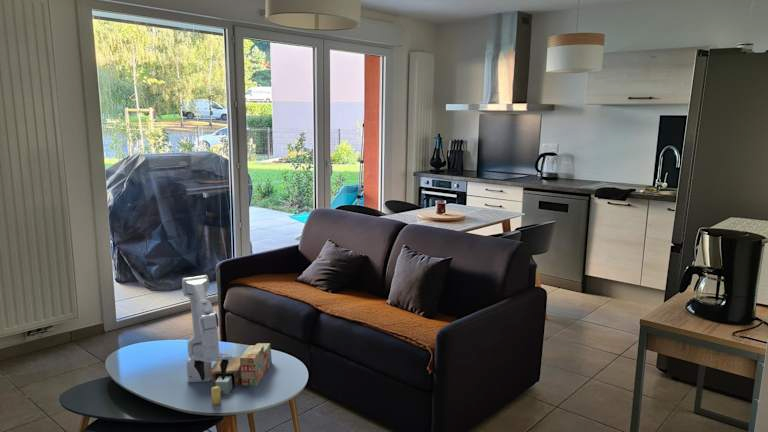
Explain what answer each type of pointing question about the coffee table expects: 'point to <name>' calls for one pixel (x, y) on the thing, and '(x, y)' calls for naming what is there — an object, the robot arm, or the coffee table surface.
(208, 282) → the robot arm
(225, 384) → the cube joystick
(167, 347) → the coffee table surface
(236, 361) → the open wooden box
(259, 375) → the stack of blocks
